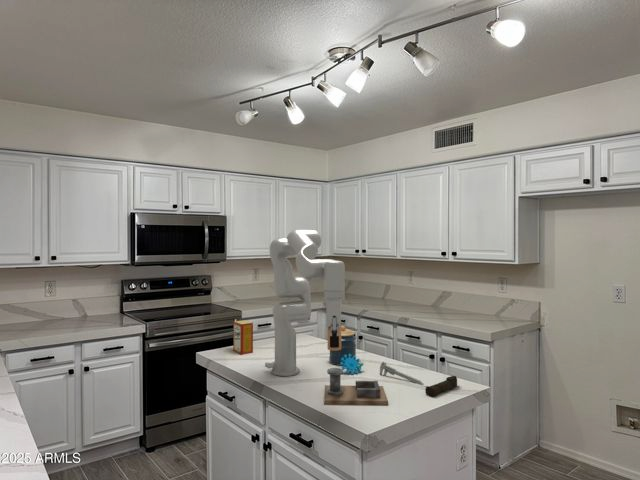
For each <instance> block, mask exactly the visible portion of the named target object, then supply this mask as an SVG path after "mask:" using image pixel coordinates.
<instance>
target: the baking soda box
mask: <svg viewBox="0 0 640 480" xmlns="http://www.w3.org/2000/svg"><path fill="white" fill-rule="evenodd" d="M232 323H233V327H232V329H233V331H232V333H233V334H232V336H233V339H232V340H233V342H232V343H233V345H232V346H233V349H232V351H233V352H235V353H237V354H239V355H241V356H243V355H248V354H254V323H253V322H252V321H249V320H245V319H242V320H234V321H232Z"/></svg>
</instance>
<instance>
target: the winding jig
mask: <svg viewBox="0 0 640 480" xmlns="http://www.w3.org/2000/svg"><path fill="white" fill-rule="evenodd" d="M326 370H327V371H326V372H327V374H328V375H329V384H328V385H326V384H325V385H324V400H323V402H324V405H337V406H338V405H346V406H347V405H348V406H349V405H350V406H351V405H352V406H389V400H388V396H387V393H386V391H385V388H384V385H379V382H378V380H355V385H341V375H343V374H344V370H343V369H342V368H340V367H331V368H327V369H326Z"/></svg>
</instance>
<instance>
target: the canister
mask: <svg viewBox="0 0 640 480" xmlns="http://www.w3.org/2000/svg"><path fill="white" fill-rule="evenodd" d="M340 326H341V350H338V351H332V350H329V358H328V360H329V362H330V364H332V365H336V366H341V365H340V363H341V362H343V361H341V358H342V357H343V358H344V355H347V357H346V358H349V357H348V355H349V354H351V357H350V358H353V356H354V355H355V356H356V358H355V359H354V358H353V359H354V360H357V353H356V352H357V347H356V346H357V344H356V340H357V337H356V335H355V332H354V331H353V330H351V329H349V328H346V325H340ZM344 360H345V358H344ZM343 363H344V362H343ZM344 364H345V363H344Z"/></svg>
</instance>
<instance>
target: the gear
mask: <svg viewBox="0 0 640 480" xmlns="http://www.w3.org/2000/svg"><path fill="white" fill-rule="evenodd" d="M346 357H347V355H344V358H345V360H344V358H343V357H342V358H341V361H343V362H344V363H345V364H344V363H343V362H341V363H340V365H339V366H342V367H341V369H343V371H344V370H345V374H349V372H350V375H354V373H355V374H356V375H357V374H359V372H360V371H362V367H363V366H364V364H365V363H364V362H360V361H361V360H360V358H357V355H356V356H355V355H354V356H353V358H354V359H355V358H356V360H354V359H353V358H350V357H351V354H349V355H348V357H349V358H346ZM354 371H355V372H354Z"/></svg>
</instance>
